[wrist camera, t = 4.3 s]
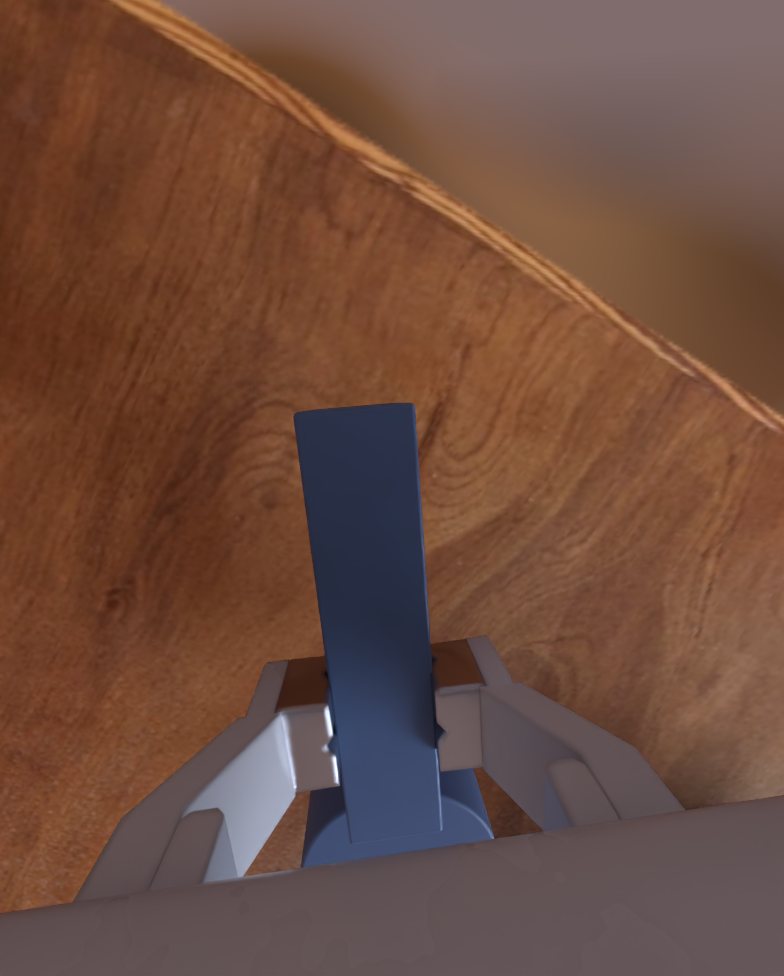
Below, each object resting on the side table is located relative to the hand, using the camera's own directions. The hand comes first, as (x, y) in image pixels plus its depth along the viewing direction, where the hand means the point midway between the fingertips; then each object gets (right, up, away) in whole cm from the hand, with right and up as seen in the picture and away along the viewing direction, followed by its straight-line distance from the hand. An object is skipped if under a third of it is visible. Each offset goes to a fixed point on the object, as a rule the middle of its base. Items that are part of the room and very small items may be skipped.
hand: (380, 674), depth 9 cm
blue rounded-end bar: (0, -1, +2) cm, 2 cm away
